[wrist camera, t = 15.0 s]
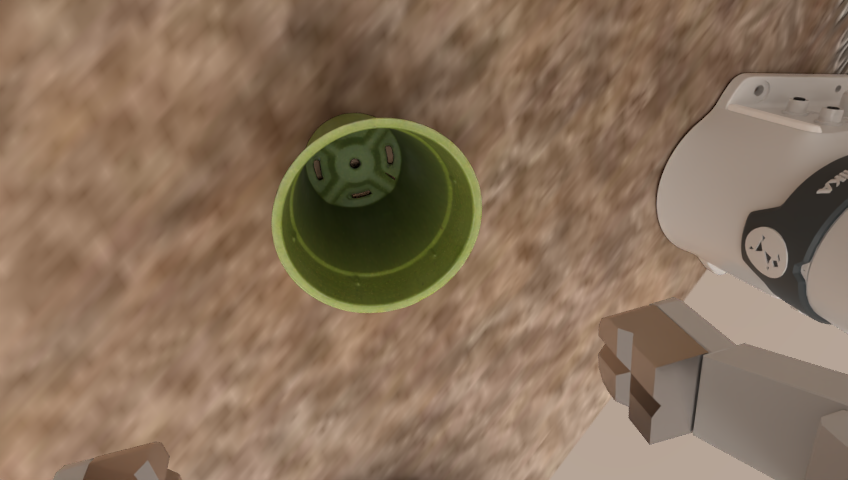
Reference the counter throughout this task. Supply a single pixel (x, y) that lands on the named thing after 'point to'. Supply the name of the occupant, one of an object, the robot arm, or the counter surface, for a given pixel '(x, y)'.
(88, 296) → the counter surface
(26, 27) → the counter surface
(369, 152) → the plant pot
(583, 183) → the counter surface
